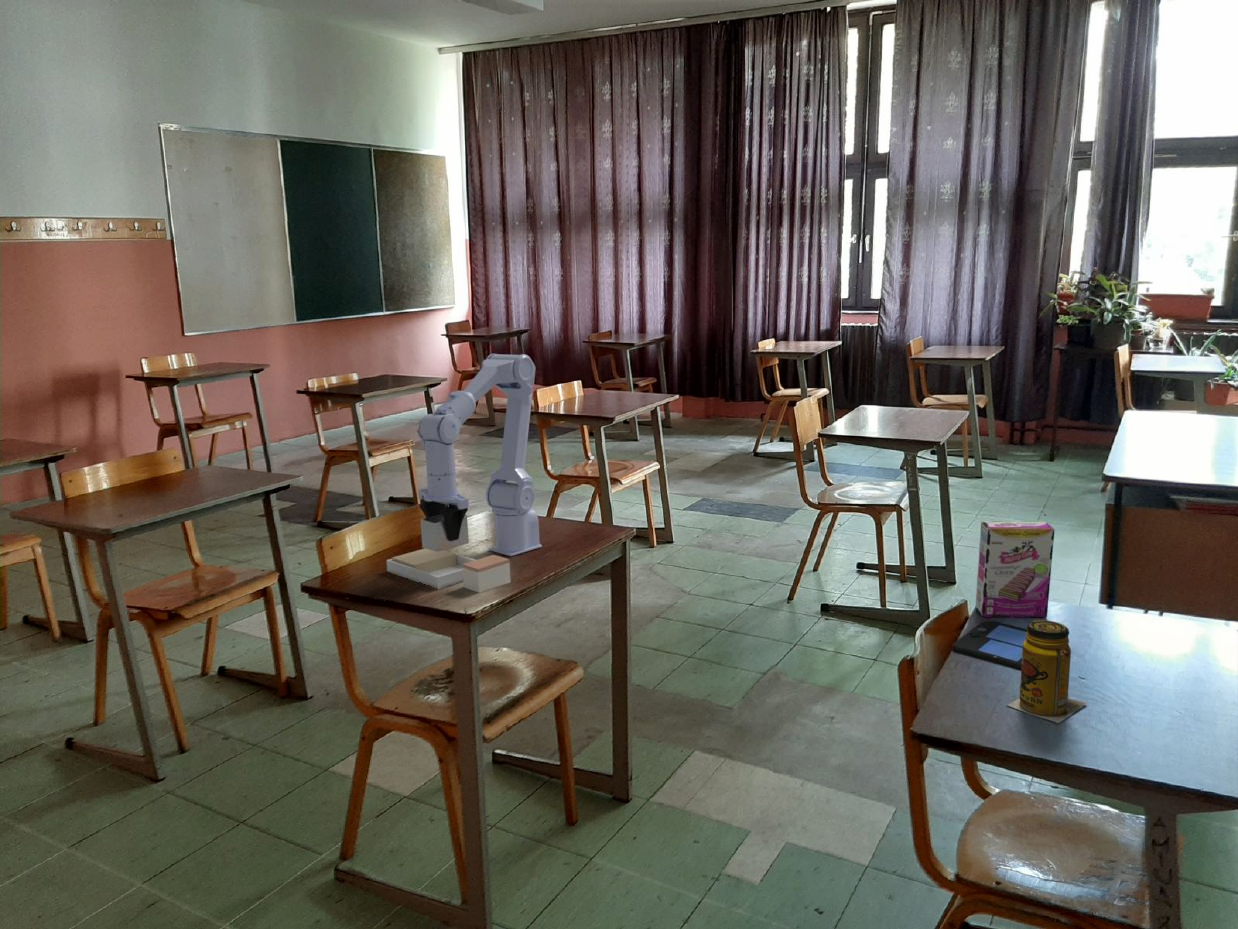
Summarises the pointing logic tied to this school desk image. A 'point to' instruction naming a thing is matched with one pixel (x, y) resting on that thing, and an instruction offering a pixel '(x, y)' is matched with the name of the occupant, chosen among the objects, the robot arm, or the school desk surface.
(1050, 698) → the condiment
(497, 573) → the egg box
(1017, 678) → the school desk surface
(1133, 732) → the school desk surface
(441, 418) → the robot arm
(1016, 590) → the candy bar box
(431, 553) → the tray
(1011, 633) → the game console
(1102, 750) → the school desk surface
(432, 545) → the steel block
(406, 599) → the school desk surface
